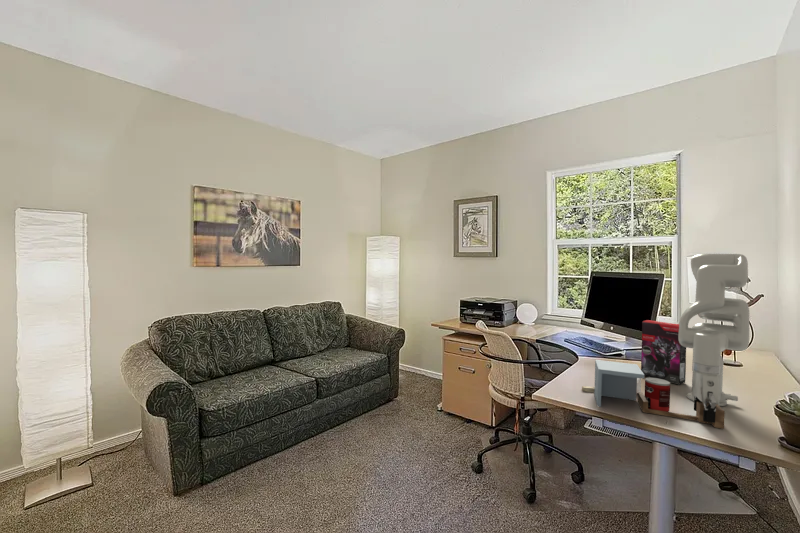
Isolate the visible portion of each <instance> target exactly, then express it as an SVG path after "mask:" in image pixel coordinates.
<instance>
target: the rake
mask: <svg viewBox="0 0 800 533" xmlns="http://www.w3.org/2000/svg"><path fill="white" fill-rule="evenodd" d="M637 403H638V406H639V407H640V409H641V411H642V412H643V413H646V414H652V415H653V414H654V415H659V416H666V417H670V418H671V417H673V418H677V419H685V420H691V421H698V422H699V423H702V424H708V425H712V426H713V427H714V428H717V429H722V430H723V429H725V414H726V413H725V412H726V411H725V410H724V409H723V408H722V406H719V405H716V414H715V423H711V422H705V421H703V409H705V408H704V403H702V402H697V407H696V411H695V412H696V413H695V415H692V414H690V415H689V414H686V413H685V414H684V413H679V412H673V411H672V412H671V411H669V412H666V411H659V410H653V409H648V401H647V400H646V398H645V394H644V393H643V392H642V391H641V392H638V393H637ZM708 405H709V404H707V406H708Z"/></svg>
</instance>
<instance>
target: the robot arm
mask: <svg viewBox="0 0 800 533" xmlns="http://www.w3.org/2000/svg"><path fill="white" fill-rule="evenodd" d="M748 265H749V263H748V258H747V257H746V256H745V255H744V254H740V253H700V254H696V255H694V256H692V257H691V259H690V267H691V272H692V275H693V276H694V277H693V278H694V279H695V282H696V284H695V286H696V287H695V301H694V303H693V304H691V305H690V306H689V307H687V308H686V309H685V310H684V311H683V313H682V315H681V316H680V319H679V323H678V324H679V334H678V339H679V343H680V344H681V345H682V346H683V347H686V349H687V348H688V349H692V364H691V365H692V366H691V367H692V368H691V370H692V371H691V372H692V379H691V392H688V393H686V397H687V398H688V399H689V400H690V401H693V410H694V412H696V407H697V402H702V403H704V408H705V409H703V421H705V422H711V423H715V414H716V405H719V406H720V407H725V406H727V405H728V401H732V402H733V401H734V402H737V401H738V400H739V398H738V396H737V395H733V394H731V393H725V392H724V391H723V383H724V382H723V381H724V376H723V375H724V359H723V356H722V354H721V353H722V352H724V351H725V350H730V351H737V352H742V351H743V352H744V351H746V350H747V349H748V348H749V345H750V307H749V303H748V302H747V301H745V300H744V299H740V298H733V297H732V298H729V297H725V296H726V295H725V294H726V288H744V287H745V286H746V285H747V282H748V277H749V269H748V268H749V266H748ZM695 316H698V317H699V318H700V319H703V320H708V321H715V322H722V323H723V322H724V323H731V324H733V325H728V324H720V323H719V324H718V323H710V322H699V323H695V324H693V325H692V327H689V323H690V321H691V319H692V318H694V317H695ZM707 404H709V405H708V406H707Z"/></svg>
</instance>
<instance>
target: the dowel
mask: <svg viewBox="0 0 800 533" xmlns="http://www.w3.org/2000/svg"><path fill="white" fill-rule="evenodd" d="M594 387H595V386H585V385H582V386H581V391H582V392H583V393H584V392H587V393H594Z"/></svg>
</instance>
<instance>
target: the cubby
mask: <svg viewBox="0 0 800 533" xmlns="http://www.w3.org/2000/svg"><path fill="white" fill-rule="evenodd" d="M594 363H595V366H594V386H593V387H594V392H593V393H594V398H595V402H596V407H599V408H601V407H602V397H610V398H616V399H622V400H628V399H629V400H630V401H635V402H636V401H637V394H638V393H637V378H641V380H642V379H644V380H645V376H644V373H643V372H642V371H641V367H639V365H638V364H637V363H628V362H627V363H626V362H620V361H619V362H618V361H610V360H609V361H608V360H602V359H595V361H594Z"/></svg>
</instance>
